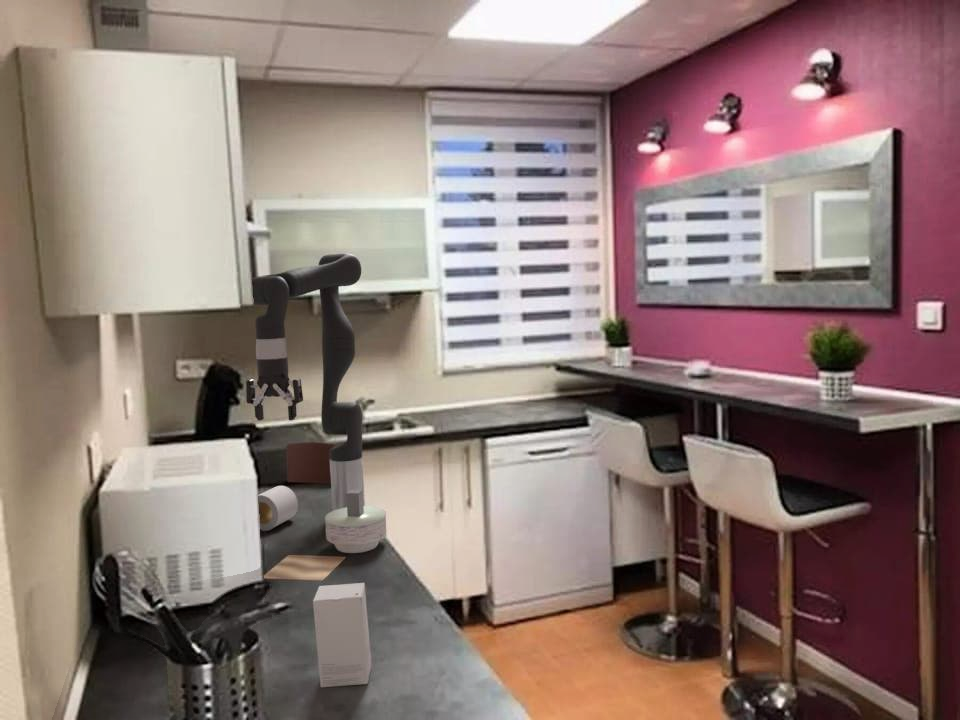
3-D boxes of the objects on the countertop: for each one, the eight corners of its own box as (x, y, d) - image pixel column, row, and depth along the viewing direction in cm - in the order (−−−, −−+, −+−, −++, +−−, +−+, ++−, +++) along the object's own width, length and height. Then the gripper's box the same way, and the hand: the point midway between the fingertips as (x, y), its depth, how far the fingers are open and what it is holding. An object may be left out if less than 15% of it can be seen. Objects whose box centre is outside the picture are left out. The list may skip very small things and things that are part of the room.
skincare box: (372, 667, 138) (367, 581, 136) (368, 686, 131) (363, 597, 130) (324, 669, 138) (318, 583, 136) (317, 689, 131) (312, 599, 129)
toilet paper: (279, 532, 215) (276, 496, 214) (248, 529, 218) (245, 494, 217) (299, 520, 225) (296, 486, 223) (268, 518, 228) (266, 484, 227)
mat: (288, 556, 195) (288, 554, 195) (346, 558, 192) (346, 556, 192) (260, 580, 180) (260, 577, 180) (322, 582, 177) (322, 580, 177)
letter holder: (340, 484, 263) (338, 443, 262) (287, 482, 268) (284, 442, 267) (352, 477, 273) (350, 437, 271) (300, 475, 278) (298, 436, 276)
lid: (337, 508, 208) (336, 483, 207) (393, 509, 205) (392, 483, 204) (316, 526, 193) (314, 499, 192) (375, 527, 190) (374, 500, 190)
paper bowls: (392, 537, 207) (391, 508, 206) (380, 558, 192) (378, 526, 191) (336, 538, 208) (334, 508, 207) (319, 558, 193) (317, 527, 192)
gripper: (304, 354, 200) (308, 417, 201) (252, 355, 203) (256, 417, 204) (292, 357, 192) (296, 422, 194) (238, 358, 195) (242, 422, 197)
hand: (276, 420), depth 199 cm, fingers open, 8 cm apart
